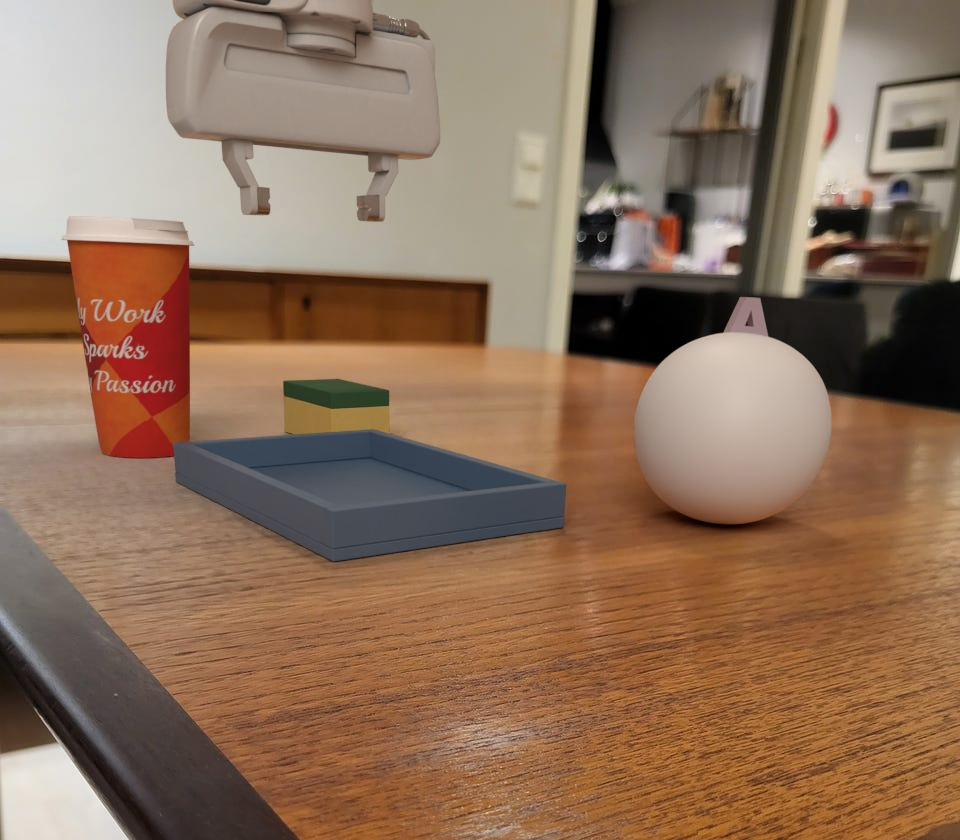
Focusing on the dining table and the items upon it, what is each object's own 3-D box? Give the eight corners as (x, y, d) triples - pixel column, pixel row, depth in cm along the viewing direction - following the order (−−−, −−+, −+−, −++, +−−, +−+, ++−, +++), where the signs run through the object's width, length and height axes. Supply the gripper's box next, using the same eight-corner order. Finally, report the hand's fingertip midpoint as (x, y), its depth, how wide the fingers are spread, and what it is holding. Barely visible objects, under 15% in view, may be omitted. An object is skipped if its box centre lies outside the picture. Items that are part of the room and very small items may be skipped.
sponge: (284, 431, 80) (282, 380, 79) (339, 428, 83) (338, 378, 82) (331, 447, 74) (331, 392, 73) (389, 443, 77) (389, 389, 76)
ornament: (725, 495, 63) (750, 295, 59) (853, 534, 55) (893, 304, 51) (592, 508, 58) (609, 291, 54) (710, 552, 50) (742, 300, 46)
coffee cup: (56, 454, 68) (30, 213, 62) (130, 437, 75) (112, 220, 70) (164, 465, 65) (146, 217, 60) (229, 446, 73) (218, 224, 68)
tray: (175, 481, 61) (172, 442, 60) (374, 464, 69) (374, 428, 68) (332, 562, 46) (332, 511, 45) (563, 527, 54) (567, 483, 53)
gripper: (410, 31, 77) (411, 225, 82) (147, -17, 65) (166, 212, 70) (458, 16, 72) (455, 223, 77) (183, -39, 61) (200, 209, 65)
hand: (315, 218), depth 73 cm, fingers open, 8 cm apart
